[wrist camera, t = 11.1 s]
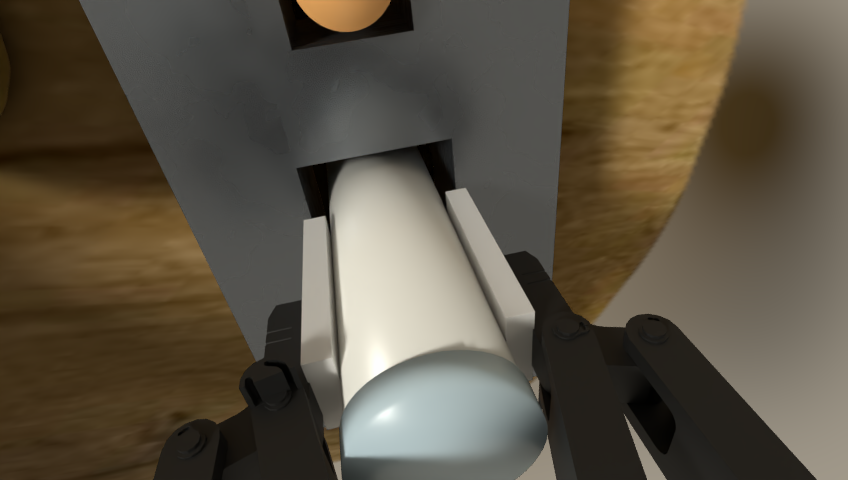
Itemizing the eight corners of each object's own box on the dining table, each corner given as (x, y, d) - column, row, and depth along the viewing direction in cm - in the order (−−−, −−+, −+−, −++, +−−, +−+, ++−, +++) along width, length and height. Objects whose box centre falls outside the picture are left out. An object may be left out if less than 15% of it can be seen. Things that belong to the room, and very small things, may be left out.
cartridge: (336, 213, 24) (363, 531, 11) (313, 126, 21) (317, 422, 9) (426, 195, 24) (544, 484, 12) (415, 107, 21) (552, 366, 9)
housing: (294, 361, 29) (292, 435, 25) (85, -141, 15) (0, -160, 11) (514, 311, 30) (546, 373, 26) (515, -194, 16) (583, -228, 12)
